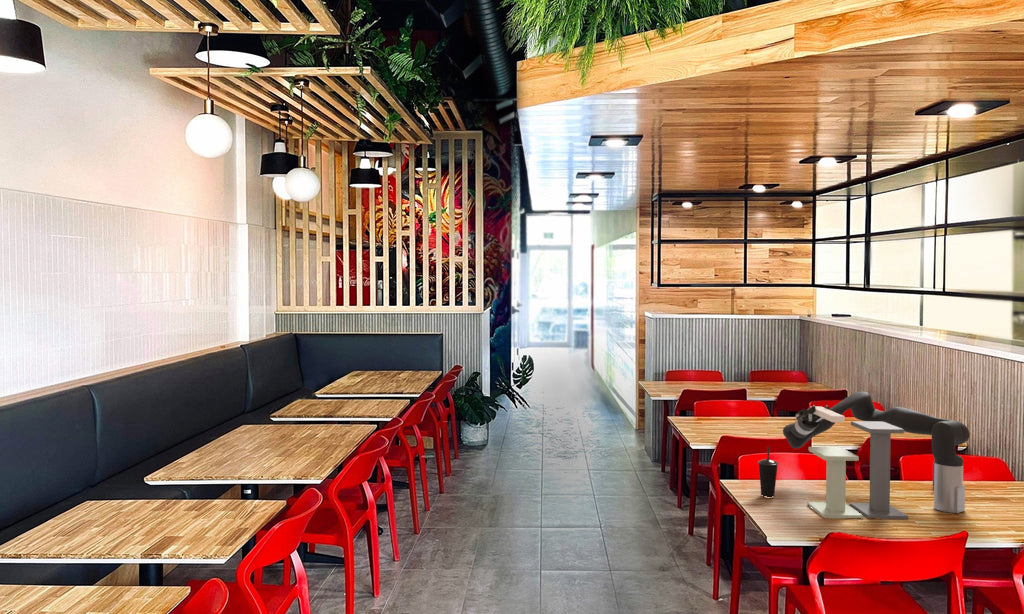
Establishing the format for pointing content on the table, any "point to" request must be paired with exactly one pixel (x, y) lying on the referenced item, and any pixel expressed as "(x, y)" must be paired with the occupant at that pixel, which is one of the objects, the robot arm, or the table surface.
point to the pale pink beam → (829, 414)
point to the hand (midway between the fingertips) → (821, 408)
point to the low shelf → (835, 483)
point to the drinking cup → (767, 475)
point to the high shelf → (879, 471)
